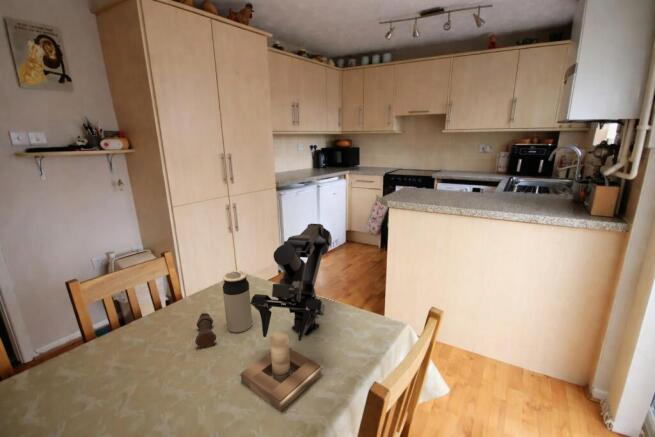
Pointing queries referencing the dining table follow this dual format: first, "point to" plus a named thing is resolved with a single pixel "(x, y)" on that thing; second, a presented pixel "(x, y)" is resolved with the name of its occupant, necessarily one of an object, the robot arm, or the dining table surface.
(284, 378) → the peg
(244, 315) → the travel mug
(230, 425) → the dining table surface
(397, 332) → the dining table surface
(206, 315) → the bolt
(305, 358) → the socket board
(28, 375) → the dining table surface
